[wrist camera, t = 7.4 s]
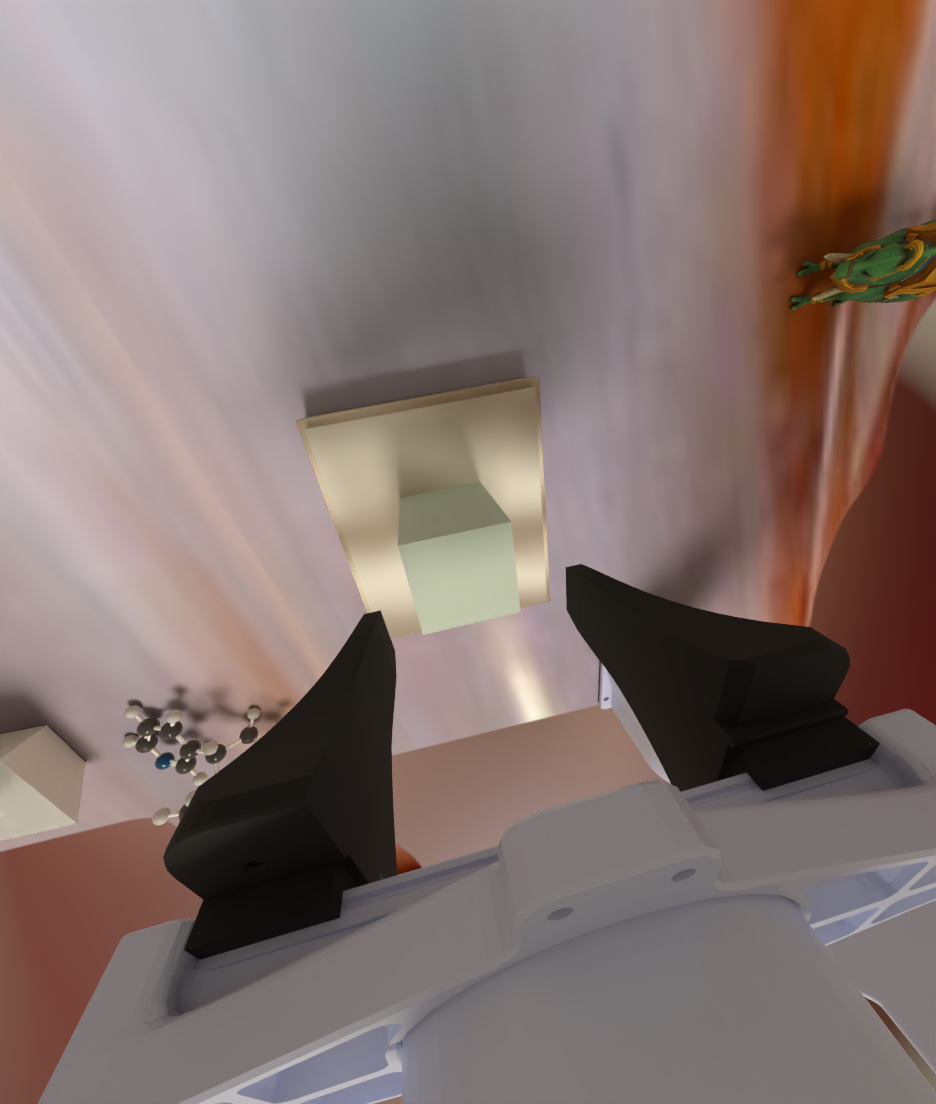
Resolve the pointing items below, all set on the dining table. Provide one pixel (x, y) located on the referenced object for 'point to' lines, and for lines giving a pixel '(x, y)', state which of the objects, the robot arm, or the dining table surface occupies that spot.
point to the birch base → (431, 480)
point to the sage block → (457, 557)
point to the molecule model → (187, 751)
